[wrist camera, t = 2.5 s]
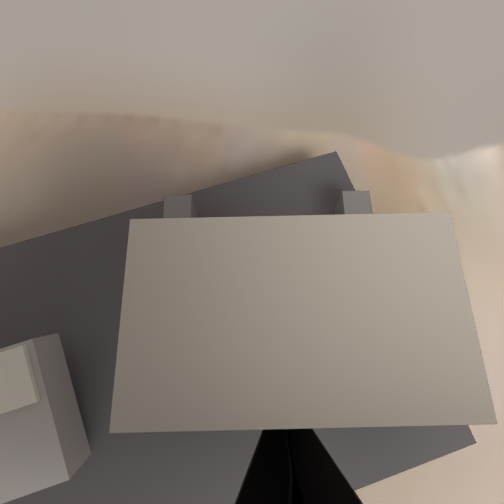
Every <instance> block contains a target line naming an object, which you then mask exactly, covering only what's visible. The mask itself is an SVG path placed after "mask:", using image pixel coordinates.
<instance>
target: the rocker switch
mask: <svg viewBox="0 0 504 504" xmlns="http://www.w3.org/2000/svg"><path fill="white" fill-rule="evenodd" d="M90 455H91V451H90V448H89V444H88V440H87V436H86V433H85V429H84V425H83V422H82V418H81V414H80V411H79V407H78V403H77V400H76V396H75V392H74V388H73V385H72V381H71V377H70V374H69V370H68V366H67V363H66V359H65V355H64V352H63V348H62V344H61V340H60V337H59V333H56V334H52V335H47V336H43V337H38V338H34V339H30V340H27V341H24V342H20V343H17V344H14V345H11V346H8V347H5V348H1V349H0V504H3V503H6V502H9V501H11V500H14V499H17V498H20V497H23V496H25V495H28V494H31V493H34V492H37V491H40V490H42V489H45V488H48V487H51V486H54V485H56V484H59V483H62V482H65V481H68V480H70V479H71V477H72V476H73V475H74V474H75V473H76V471H77V470H78V469H79V468H80V467H81V465H82V464H83V463H84V462H85V461H86V459H87V458H88V457H89V456H90Z"/></svg>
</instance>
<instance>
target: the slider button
mask: <svg viewBox="0 0 504 504" xmlns="http://www.w3.org/2000/svg"><path fill="white" fill-rule="evenodd" d="M480 424H497V420H496V416H495V411H494V407H493V402H492V398H491V393H490V389H489V384H488V380H487V375H486V371H485V367H484V362H483V358H482V353H481V349H480V344H479V340H478V335H477V331H476V326H475V322H474V317H473V313H472V308H471V304H470V299H469V295H468V290H467V286H466V281H465V277H464V272H463V268H462V263H461V259H460V255H459V250H458V246H457V241H456V237H455V232H454V228H453V223H452V219H451V214H450V212H433V213H388V214H342V215H296V216H250V217H204V218H158V219H130V225H129V236H128V246H127V256H126V266H125V276H124V287H123V297H122V307H121V317H120V327H119V337H118V348H117V358H116V368H115V378H114V388H113V399H112V409H111V419H110V429H109V433H134V432H178V431H221V430H264V429H307V428H351V427H394V426H437V425H480Z"/></svg>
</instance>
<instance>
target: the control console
mask: <svg viewBox="0 0 504 504" xmlns="http://www.w3.org/2000/svg"><path fill="white" fill-rule="evenodd" d="M342 214H372V208H371V201H370V194H369V191H355V189H354V187H353V185H352V183H351V181H350V179H349V177H348V175H347V173H346V171H345V169H344V167H343V165H342V162H341V160H340V158H339V156H338V154H337V152H336V151H335V152H332V153H328V154H325V155H321V156H318V157H315V158H311V159H308V160H304V161H301V162H297V163H294V164H290V165H287V166H283V167H280V168H276V169H273V170H269V171H266V172H262V173H259V174H256V175H252V176H249V177H245V178H242V179H238V180H235V181H231V182H228V183H224V184H221V185H217V186H214V187H210V188H207V189H203V190H200V191H197V192H193V193H190V194H186V195H165V197H164V201H162V202H158V203H155V204H151V205H148V206H144V207H141V208H138V209H134V210H131V211H127V212H124V213H120V214H117V215H113V216H110V217H106V218H103V219H99V220H96V221H92V222H89V223H85V224H82V225H79V226H75V227H72V228H68V229H65V230H61V231H58V232H54V233H51V234H47V235H44V236H40V237H37V238H33V239H30V240H26V241H23V242H20V243H16V244H13V245H9V246H6V247H2V248H0V349H1V348H5V347H8V346H11V345H14V344H17V343H20V342H24V341H27V340H30V339H34V338H38V337H43V336H47V335H52V334H56V333H59V337H60V340H61V344H62V348H63V352H64V355H65V359H66V363H67V366H68V370H69V374H70V377H71V381H72V385H73V388H74V392H75V396H76V400H77V403H78V407H79V411H80V414H81V418H82V422H83V425H84V429H85V433H86V436H87V440H88V444H89V448H90V451H91V455H90V456H89V457H88V458H87V459H86V461H85V462H84V463H83V464H82V465H81V467H80V468H79V469H78V470H77V471H76V473H75V474H74V475H73V476H72V477H71V479H70V480H68V481H65V482H62V483H59V484H56V485H54V486H51V487H48V488H45V489H42V490H40V491H37V492H34V493H31V494H28V495H25V496H23V497H20V498H17V499H14V500H11V501H9V502H6V503H3V504H235V501H236V499H237V496H238V493H239V491H240V488H241V485H242V483H243V480H244V477H245V475H246V472H247V469H248V466H249V464H250V461H251V458H252V456H253V453H254V450H255V448H256V445H257V442H258V440H259V437H260V434H261V432H262V430H221V431H178V432H134V433H109V429H110V419H111V409H112V399H113V388H114V378H115V368H116V358H117V348H118V337H119V327H120V317H121V307H122V297H123V287H124V276H125V266H126V256H127V246H128V236H129V225H130V219H158V218H204V217H250V216H296V215H342ZM313 430H314V431H315V433H316V434H317V436H318V437H319V439H320V440H321V442H322V443H323V445H324V446H325V448H326V449H327V451H328V452H329V454H330V455H331V457H332V458H333V460H334V461H335V463H336V464H337V466H338V467H339V469H340V470H341V472H342V473H343V475H344V476H345V478H346V479H347V481H348V482H349V484H350V485H351V487H352V488H353V490H357V489H359V488H362V487H365V486H367V485H370V484H372V483H375V482H377V481H380V480H383V479H385V478H388V477H390V476H393V475H395V474H398V473H401V472H403V471H406V470H408V469H411V468H413V467H416V466H419V465H421V464H424V463H426V462H429V461H431V460H434V459H436V458H439V457H442V456H444V455H447V454H449V453H452V452H454V451H457V450H460V449H462V448H465V447H467V446H470V445H472V444H475V443H476V441H475V439H474V437H473V435H472V433H471V430H470V428H469V426H468V425H437V426H394V427H351V428H313Z"/></svg>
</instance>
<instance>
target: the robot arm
mask: <svg viewBox="0 0 504 504" xmlns="http://www.w3.org/2000/svg"><path fill="white" fill-rule="evenodd" d="M235 504H363V503H362V502H361V500H360V499H359V497H358V496H357V494H356V493H355V491H354V490H353V488H352V487H351V485H350V484H349V482H348V481H347V479H346V478H345V476H344V475H343V473H342V472H341V470H340V469H339V467H338V466H337V464H336V463H335V461H334V460H333V458H332V457H331V455H330V454H329V452H328V451H327V449H326V448H325V446H324V445H323V443H322V442H321V440H320V439H319V437H318V436H317V434H316V433H315V431H314V430H313V428H307V429H264V430H262V432H261V434H260V437H259V440H258V442H257V445H256V448H255V450H254V453H253V456H252V458H251V461H250V464H249V466H248V469H247V472H246V475H245V477H244V480H243V483H242V485H241V488H240V491H239V493H238V496H237V499H236V501H235Z"/></svg>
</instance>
